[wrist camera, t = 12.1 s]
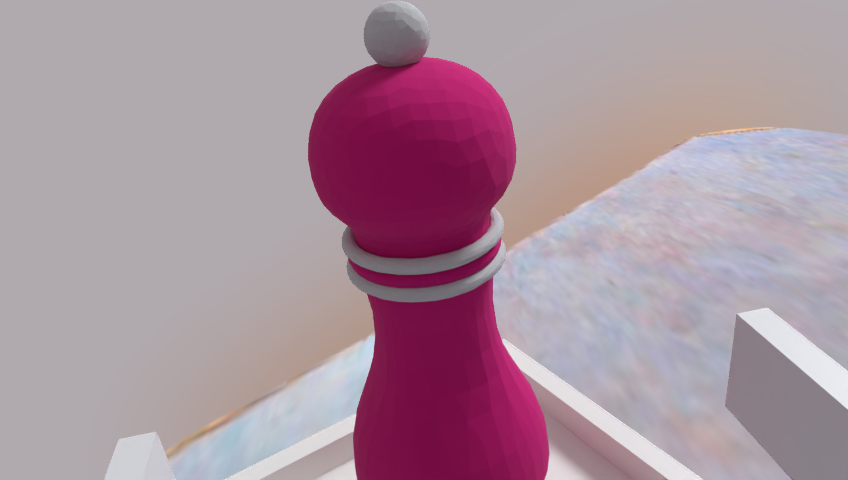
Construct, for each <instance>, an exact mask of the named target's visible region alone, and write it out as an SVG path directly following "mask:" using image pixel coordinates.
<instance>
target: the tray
mask: <svg viewBox="0 0 848 480" xmlns="http://www.w3.org/2000/svg"><path fill="white" fill-rule="evenodd" d="M502 342H503V344H504V346H505V347H506V349H507V351H508V353H509V354H510V356H511V357H512V359H513V360H514V362H515V363H516V364H517V366H518V367H519V369H520V370H521V372H522V373H523V375H524V376H525V378H526V379H527V381H528V382H529V383H530V385H531V387H532V389H533V391H534V393H535V396H536V398H537V400H538V403H539V405H540V407H541V410H542V412H543V414H544V419H545V423H546V429H547V435H548V442H549V452H550V455H549V463H548V471H547V474H546V477H545V480H703V479H702V478H700V477H699V476H698V475H696V474H695V473H693V472H692V471H690V470H689V469H688V468H686V467H685V466H683V465H682V464H681V463H679V462H678V461H676V460H675V459H673V458H672V457H671V456H669V455H668V454H666V453H665V452H664V451H662V450H661V449H659V448H658V447H656V446H655V445H654V444H652V443H651V442H649V441H648V440H647V439H645V438H644V437H642V436H641V435H640V434H638V433H637V432H635V431H634V430H632V429H631V428H630V427H628V426H627V425H625V424H624V423H623V422H621V421H620V420H618V419H617V418H615V417H614V416H613V415H611V414H610V413H608V412H607V411H606V410H604V409H603V408H601V407H600V406H598V405H597V404H596V403H594V402H593V401H591V400H590V399H589V398H587V397H586V396H584V395H583V394H581V393H580V392H579V391H577V390H576V389H574V388H573V387H572V386H570V385H569V384H567V383H566V382H564V381H563V380H562V379H560V378H559V377H557V376H556V375H555V374H553V373H552V372H550V371H549V370H547V369H546V368H545V367H543V366H542V365H540V364H539V363H538V362H536V361H535V360H533V359H532V358H530V357H529V356H528V355H526V354H525V353H523V352H522V351H521V350H519V349H518V348H516V347H515V346H513V345H512V344H511V343H509V342H508V341H506V340H505V339H503V340H502ZM355 420H356V414H354V415H352V416H350V417H348V418H346V419H344V420H342V421H340V422H338V423H336V424H334V425H332V426H330V427H328V428H326V429H324V430H322V431H320V432H318V433H316V434H314V435H312V436H310V437H308V438H306V439H304V440H302V441H300V442H298V443H296V444H294V445H292V446H290V447H288V448H286V449H284V450H282V451H280V452H278V453H276V454H274V455H272V456H270V457H268V458H266V459H264V460H262V461H260V462H258V463H256V464H254V465H252V466H250V467H248V468H246V469H244V470H242V471H240V472H238V473H236V474H234V475H232V476H230V477H228V478H226V479H224V480H357V476H356V470H355V461H354V447H353V433H354V426H355Z"/></svg>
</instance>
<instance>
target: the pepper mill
mask: <svg viewBox="0 0 848 480" xmlns="http://www.w3.org/2000/svg"><path fill="white" fill-rule="evenodd" d="M429 40H430V31H429V26H428V23H427V21H426V19H425V17H424V15H423V14H422V13H421V12H420V11H419V10H418V9H417V8H416V7H415V6H413V5H412V4H410V3H407V2H403V1H389V2H385V3H383V4H381V5H379V6H378V7H377V8H375V9H374V10H373V11H372V13H371V14H370V15H369V17H368V19H367V21H366V24H365V28H364V42H365V46H366V48H367V51H368V53H369V54H370V55H371V57H372V58H373V59H374V60H375V61H376V62H377V63H378V64H375V65H371V66H368V67H365V68H363V69H361V70H359V71H357V72H355V73H354V74H351V75H350V76H348V77H347V78H345V79H344V80H343V81H341V82H340V83H338V84H337V85H336V86H335V87H334V88H333V89H332V90H331V91H330V92H329V93H328V94H327V96H326V97H325V98H324V99H323V101H322V103H321V105H320V106H319V108H318V110H317V111H316V113H315V116H314V119H313V123H312V126H311V129H310V134H309V143H308V161H309V166H310V171H311V177H312V180H313V183H314V187H315V189H316V191H317V193H318V196H319V198H320V200H321V201H322V203H323V205H324V206H325V207H326V208H327V209H328V210H329V211H330V212H331V213H332V214H333V215H334V216H335V217H337V218H338V219H339V220H341V221H342V222H343V223H345V224H346V225H348V227H347V228H346V229H345V231H344V233H343V237H342V247H343V250H344V252H345V254H346V255H347V256H348V262H347V271H348V276H349V278H350V280H351V281H352V283H353V284H354V285H355V286H356V287H357V288H358V289H360V290H361V291H363V292H365V293H367V295H368V298H369V301H370V304H371V308H372V311H373V318H374V327H375V345H374V355H373V360H372V364H371V368H370V371H369V374H368V377H367V380H366V383H365V386H364V389H363V392H362V395H361V398H360V401H359V404H358V407H357V413H356V420H355V426H354V433H353V447H354V461H355V470H356V476H357V480H545V477H546V474H547V471H548V463H549V455H550V452H549V442H548V435H547V429H546V423H545V419H544V414H543V412H542V410H541V407H540V405H539V403H538V400H537V398H536V396H535V393H534V391H533V389H532V387H531V385H530V383H529V382H528V381H527V379H526V378H525V376H524V375H523V373H522V372H521V370H520V369H519V367H518V366H517V364H516V363H515V362H514V360H513V359H512V357H511V356H510V354H509V353H508V351H507V349H506V347H505V346H504V344H503V342H502V339H501V337H500V334H499V331H498V328H497V324H496V318H495V311H494V305H493V276H494V275H495V274H496V273H497V272H498V270H499V269H500V268H501V267H502V264H503V262H504V260H505V255H506V249H505V245H504V243H503V241H502V239H501V235H502V234H503V230H504V222H503V219H502V216H501V215H500V213H499V212H498V211H497V210H496V209H495V208H494V205H495V204H496V203H497V202H498V201H499V199H500V198H501V197H502V196H503V194H504V192H505V191H506V189H507V187H508V185H509V183H510V181H511V180H512V176H513V172H514V168H515V164H516V144H515V137H514V132H513V126H512V121H511V118H510V115H509V112H508V110H507V108H506V106H505V103H504V101H503V99H502V98H501V97H500V95H499V94H498V93H497V92H496V90H495V89H494V88H493V87H492V85H491V84H489V83H488V82H487V81H486V80H485V79H484V78H482V77H481V76H480V75H479V74H477V73H476V72H474V71H472V70H471V69H469V68H467V67H465V66H462V65H460V64H457V63H455V62H451V61H447V60H443V59H438V58H428V57H423V55H424V54H425V52H426V50H427V48H428V45H429Z"/></svg>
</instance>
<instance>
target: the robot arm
mask: <svg viewBox="0 0 848 480" xmlns="http://www.w3.org/2000/svg"><path fill="white" fill-rule="evenodd" d="M725 406H726V407H727V408H728V410H729V411H730V412H731V413H732V414H733V415H734V416H735V417H736V418H737V420H738V421H739V422H740V423H741V424H742V425H743V426H744V427H745V428H746V429H747V431H748V432H749V433H750V434H751V435H752V436H753V437H754V438H755V439H756V441H757V442H758V443H759V444H760V445H761V446H762V447H763V448H764V449H765V450H766V452H767V453H768V454H769V455H770V456H771V457H772V458H773V459H774V460H775V461H776V463H777V464H778V465H779V466H780V467H781V468H782V469H783V470H784V471H785V473H786V474H787V475H788V476H789V477H790V478H791V479H792V480H848V371H847V370H846V369H844V368H843V367H842V366H841V365H839V364H838V363H837V362H835V361H834V360H833V359H832V358H830V357H829V356H828V355H827V354H825V353H824V352H823V351H822V350H820V349H819V348H818V347H817V346H815V345H814V344H813V343H811V342H810V341H809V340H808V339H806V338H805V337H804V336H803V335H801V334H800V333H799V332H798V331H796V330H795V329H794V328H793V327H791V326H790V325H789V324H787V323H786V322H785V321H784V320H782V319H781V318H780V317H779V316H777V315H776V314H775V313H774V312H772V311H771V310H770V309H769V308H763V309H758V310H753V311H748V312H743V313H738V314H737V315H736V323H735V332H734V340H733V348H732V356H731V364H730V372H729V380H728V388H727V396H726V404H725ZM104 480H176V479H175V477H174V474H173V472H172V469H171V467H170V464H169V462H168V459H167V457H166V454H165V452H164V449H163V447H162V444H161V442H160V439H159V437H158V434H157V432H152V433H147V434H142V435H137V436H132V437H127V438H122V439H119V440H118V443H117V446H116V449H115V451H114V454H113V457H112V459H111V462H110V465H109V468H108V470H107V473H106V476H105V478H104Z"/></svg>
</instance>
